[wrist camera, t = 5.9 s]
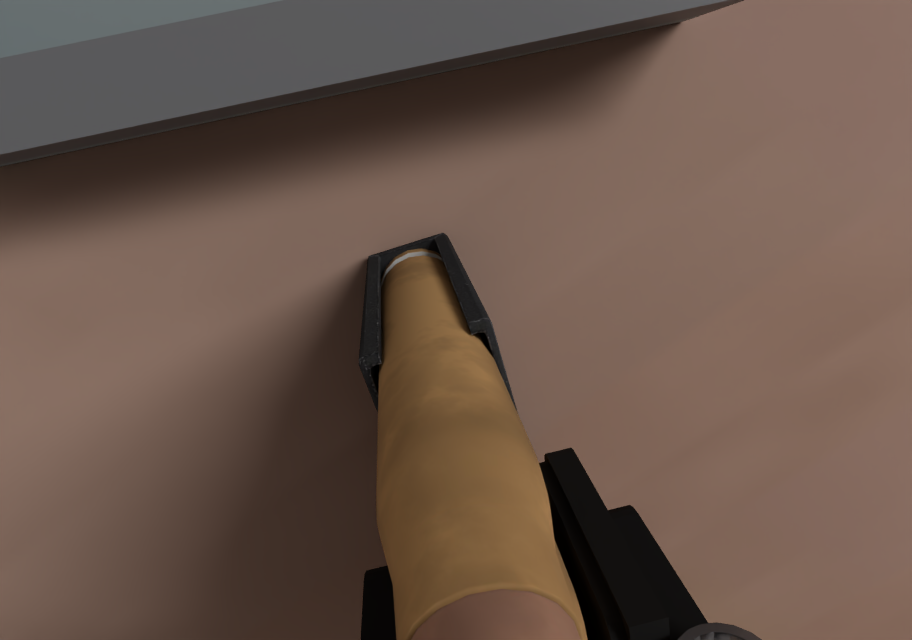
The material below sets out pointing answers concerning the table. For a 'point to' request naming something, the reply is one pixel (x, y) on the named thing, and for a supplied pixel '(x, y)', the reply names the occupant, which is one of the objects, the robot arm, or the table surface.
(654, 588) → the robot arm
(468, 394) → the ammunition clip
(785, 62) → the table surface
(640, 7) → the holder tray
